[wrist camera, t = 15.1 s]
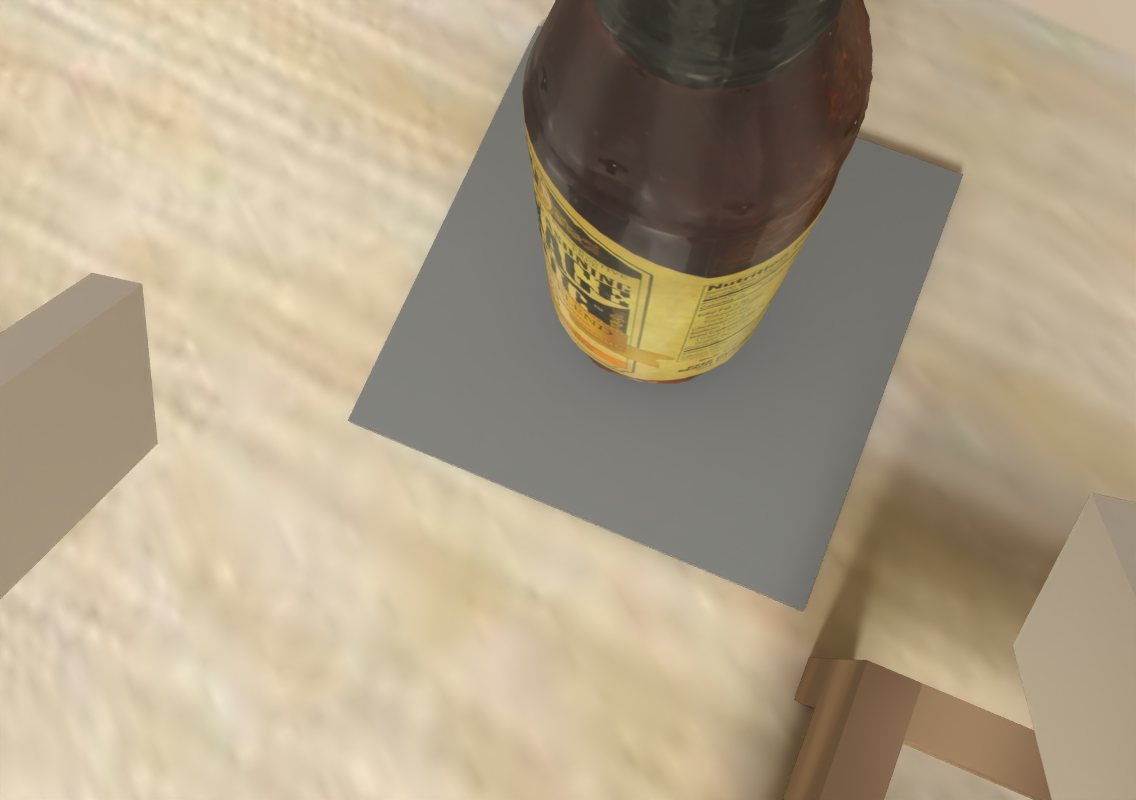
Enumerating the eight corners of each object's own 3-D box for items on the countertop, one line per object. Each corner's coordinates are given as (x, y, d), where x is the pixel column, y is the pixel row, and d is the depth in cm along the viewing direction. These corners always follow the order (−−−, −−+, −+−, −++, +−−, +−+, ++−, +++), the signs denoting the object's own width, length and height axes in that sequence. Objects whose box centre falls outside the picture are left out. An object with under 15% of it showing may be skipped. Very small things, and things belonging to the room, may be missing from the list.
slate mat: (959, 179, 31) (963, 174, 30) (801, 611, 28) (804, 610, 28) (538, 31, 33) (537, 25, 32) (350, 422, 30) (347, 419, 29)
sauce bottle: (532, 223, 31) (398, -494, 11) (732, 177, 31) (933, -612, 12) (581, 429, 29) (520, -2, 10) (791, 379, 29) (1141, -143, 10)
